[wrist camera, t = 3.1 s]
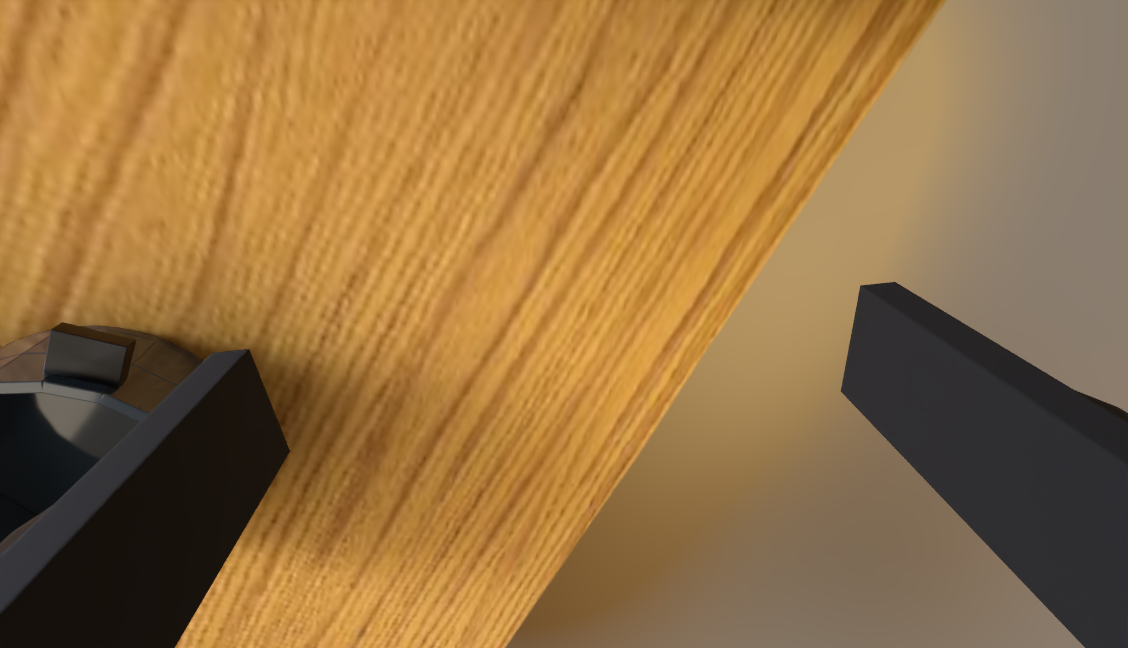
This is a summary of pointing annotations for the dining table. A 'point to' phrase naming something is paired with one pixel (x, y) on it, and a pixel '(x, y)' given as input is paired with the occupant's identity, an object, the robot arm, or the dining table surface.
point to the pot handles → (88, 355)
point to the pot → (71, 418)
